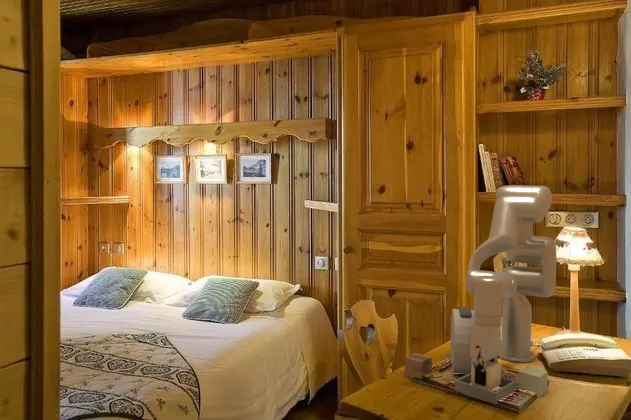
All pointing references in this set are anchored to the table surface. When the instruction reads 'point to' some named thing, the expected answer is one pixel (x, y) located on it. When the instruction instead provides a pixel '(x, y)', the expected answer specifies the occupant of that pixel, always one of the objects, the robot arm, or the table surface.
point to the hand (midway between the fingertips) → (485, 380)
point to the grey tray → (475, 391)
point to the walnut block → (417, 365)
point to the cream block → (489, 375)
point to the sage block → (533, 380)
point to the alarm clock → (461, 339)
